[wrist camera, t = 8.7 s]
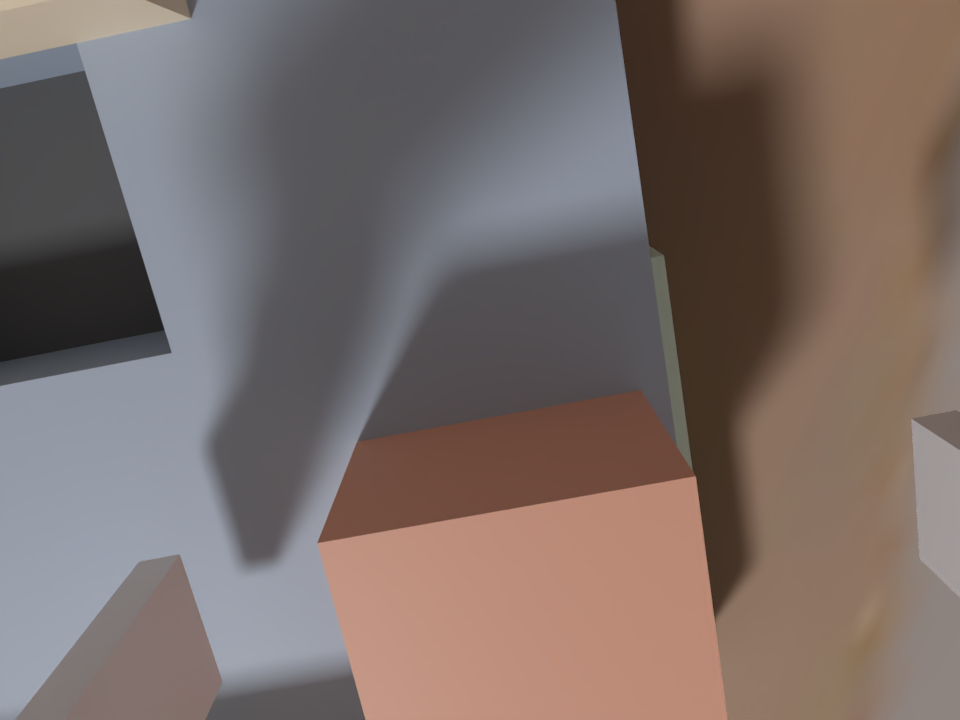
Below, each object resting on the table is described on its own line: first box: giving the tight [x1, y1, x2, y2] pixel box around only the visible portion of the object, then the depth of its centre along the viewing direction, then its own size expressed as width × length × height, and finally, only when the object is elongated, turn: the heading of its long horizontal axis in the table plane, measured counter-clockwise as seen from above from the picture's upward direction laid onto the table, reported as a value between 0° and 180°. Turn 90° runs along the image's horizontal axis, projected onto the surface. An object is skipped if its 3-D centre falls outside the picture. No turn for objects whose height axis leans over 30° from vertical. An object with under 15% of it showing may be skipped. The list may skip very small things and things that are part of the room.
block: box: [317, 390, 728, 720], centre depth 14 cm, size 6×6×4 cm
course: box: [0, 0, 693, 720], centre depth 16 cm, size 18×24×6 cm
